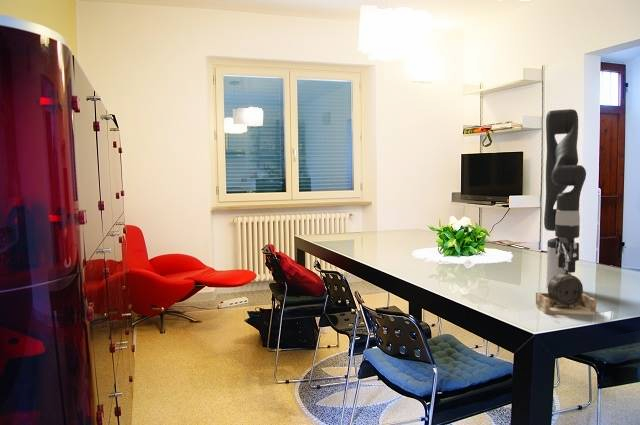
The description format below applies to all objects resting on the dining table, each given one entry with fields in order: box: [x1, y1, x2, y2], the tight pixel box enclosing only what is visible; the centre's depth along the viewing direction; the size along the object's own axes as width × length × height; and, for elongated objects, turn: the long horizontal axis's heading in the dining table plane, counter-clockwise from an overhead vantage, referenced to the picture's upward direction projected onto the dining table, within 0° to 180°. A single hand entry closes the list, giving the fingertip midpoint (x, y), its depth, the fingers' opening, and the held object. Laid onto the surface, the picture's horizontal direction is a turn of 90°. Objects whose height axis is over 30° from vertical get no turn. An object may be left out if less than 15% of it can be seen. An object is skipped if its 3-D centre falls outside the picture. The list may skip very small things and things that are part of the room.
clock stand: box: [535, 292, 597, 316], centre depth 176 cm, size 10×16×5 cm, turn 85°
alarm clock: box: [547, 262, 584, 309], centre depth 175 cm, size 11×5×16 cm, turn 97°
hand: (566, 269), depth 175 cm, fingers open, 8 cm apart
